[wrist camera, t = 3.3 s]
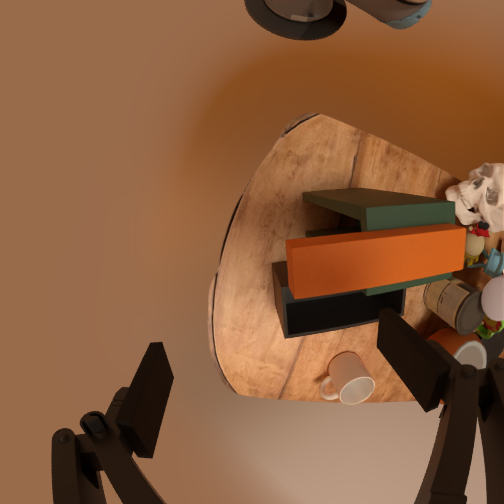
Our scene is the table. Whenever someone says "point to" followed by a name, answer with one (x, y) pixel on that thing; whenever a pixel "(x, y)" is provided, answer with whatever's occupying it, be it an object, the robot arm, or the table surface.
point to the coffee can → (455, 304)
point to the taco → (489, 325)
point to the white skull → (480, 197)
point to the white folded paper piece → (502, 248)
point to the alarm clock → (462, 347)
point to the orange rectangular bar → (372, 258)
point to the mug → (348, 379)
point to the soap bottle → (494, 299)
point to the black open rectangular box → (328, 307)
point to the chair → (491, 263)
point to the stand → (383, 218)
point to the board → (493, 346)
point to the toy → (475, 241)
